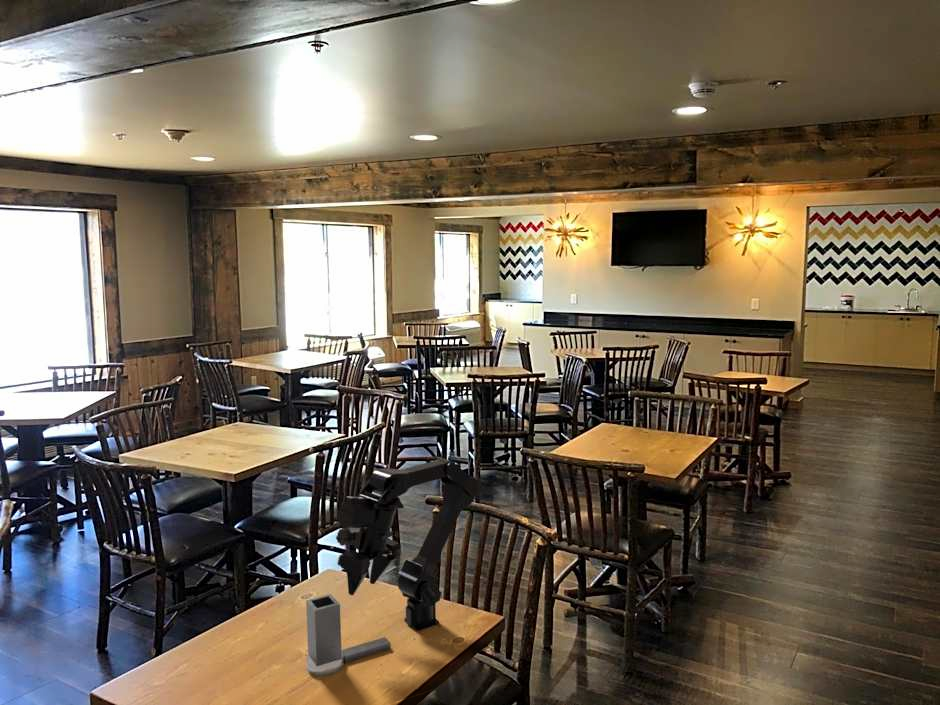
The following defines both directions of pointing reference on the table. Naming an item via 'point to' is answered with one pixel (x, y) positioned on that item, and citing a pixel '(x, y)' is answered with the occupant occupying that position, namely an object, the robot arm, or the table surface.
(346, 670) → the table surface
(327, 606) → the socket
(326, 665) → the ratchet
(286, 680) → the table surface
